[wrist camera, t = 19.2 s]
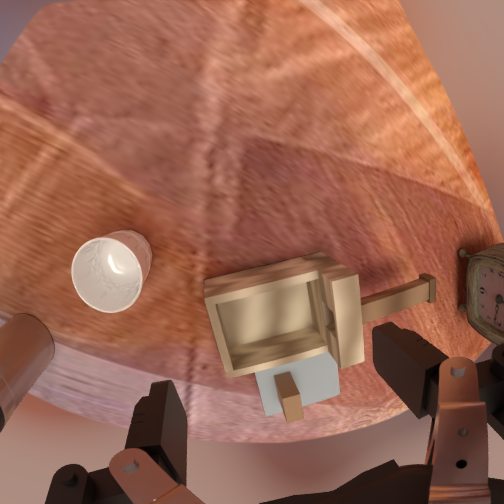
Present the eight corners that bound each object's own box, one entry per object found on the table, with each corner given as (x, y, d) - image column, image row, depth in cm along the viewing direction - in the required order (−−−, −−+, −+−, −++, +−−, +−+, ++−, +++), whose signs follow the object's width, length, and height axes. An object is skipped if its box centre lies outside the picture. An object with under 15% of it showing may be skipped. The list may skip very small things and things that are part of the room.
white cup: (169, 260, 40) (158, 283, 30) (126, 295, 40) (105, 326, 31) (131, 212, 38) (107, 221, 28) (89, 250, 38) (58, 269, 29)
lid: (265, 412, 48) (273, 440, 41) (251, 360, 45) (259, 387, 38) (337, 391, 49) (353, 415, 42) (332, 337, 46) (350, 360, 40)
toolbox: (223, 351, 44) (230, 399, 33) (204, 279, 41) (204, 313, 30) (330, 323, 45) (364, 361, 34) (321, 251, 43) (358, 274, 32)
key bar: (347, 322, 37) (355, 331, 34) (344, 298, 36) (353, 306, 33) (425, 295, 38) (435, 301, 35) (425, 272, 37) (435, 277, 35)
